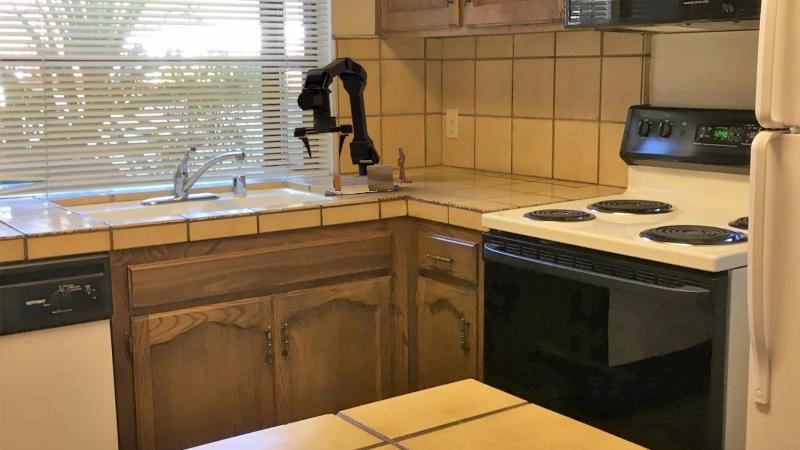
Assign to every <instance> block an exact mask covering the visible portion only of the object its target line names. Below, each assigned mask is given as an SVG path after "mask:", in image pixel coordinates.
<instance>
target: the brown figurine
mask: <svg viewBox="0 0 800 450" xmlns="http://www.w3.org/2000/svg"><path fill="white" fill-rule="evenodd" d="M398 155H399V157H398V158H397V167H398V168H399V174H398V175H399V176H398V178H393V182H394V181H396V182H398V183H397V184H399V183H401V184H400V185H403V184H402V183H410V184H412V180H411V179H408V178H407V177H406V172H405V166H404V165H405V162H406V156H405V155H406V153H404V150H403V148H402V147H399V148H398ZM396 182H395V183H396Z"/></svg>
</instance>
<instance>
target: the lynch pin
mask: <svg viewBox="0 0 800 450" xmlns="http://www.w3.org/2000/svg"><path fill="white" fill-rule="evenodd" d="M332 184H333V185H332V186H333V189H335V191H341V189H342V188H341V187H351V186H352V187H354V186H367V185H368V175H365V176H359V175H356V176H355V175H353V176H341V174H340V172H339V173H334V174H333V176H332Z"/></svg>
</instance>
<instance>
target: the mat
mask: <svg viewBox="0 0 800 450" xmlns="http://www.w3.org/2000/svg"><path fill="white" fill-rule="evenodd" d="M390 190H400V191H401V188H400V184H394V189H390ZM377 191H388V190H377ZM336 194H337V193H334V192H330V191H326V190H325V193H324V196H325V197H335V195H336Z"/></svg>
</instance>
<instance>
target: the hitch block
mask: <svg viewBox="0 0 800 450" xmlns="http://www.w3.org/2000/svg"><path fill="white" fill-rule="evenodd" d="M367 175H368V186H367V187H368V188H369V191H376V190H390V189H394V185H395V184H394V173H393V166H392V164H391V163H389V164H374V166H367Z"/></svg>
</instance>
